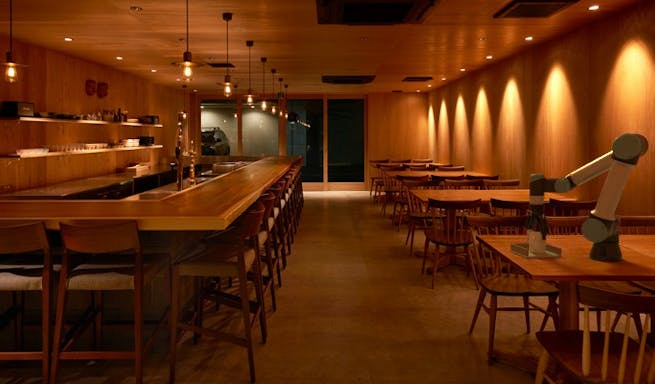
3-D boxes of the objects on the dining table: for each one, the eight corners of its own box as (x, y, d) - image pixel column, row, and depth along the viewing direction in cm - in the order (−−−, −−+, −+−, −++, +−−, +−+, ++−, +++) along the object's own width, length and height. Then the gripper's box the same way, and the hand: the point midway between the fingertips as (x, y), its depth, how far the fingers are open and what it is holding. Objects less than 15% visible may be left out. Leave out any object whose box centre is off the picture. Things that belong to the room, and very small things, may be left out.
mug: (540, 255, 295) (540, 235, 294) (524, 253, 300) (524, 233, 300) (547, 251, 305) (548, 232, 304) (531, 250, 310) (532, 231, 309)
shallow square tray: (561, 257, 296) (561, 248, 296) (526, 258, 293) (526, 249, 293) (543, 250, 314) (543, 242, 313) (510, 251, 311) (510, 243, 311)
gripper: (556, 205, 289) (555, 247, 291) (531, 201, 314) (531, 239, 316) (542, 206, 288) (541, 248, 290) (518, 201, 313) (518, 240, 315)
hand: (536, 243), depth 303 cm, fingers open, 13 cm apart
